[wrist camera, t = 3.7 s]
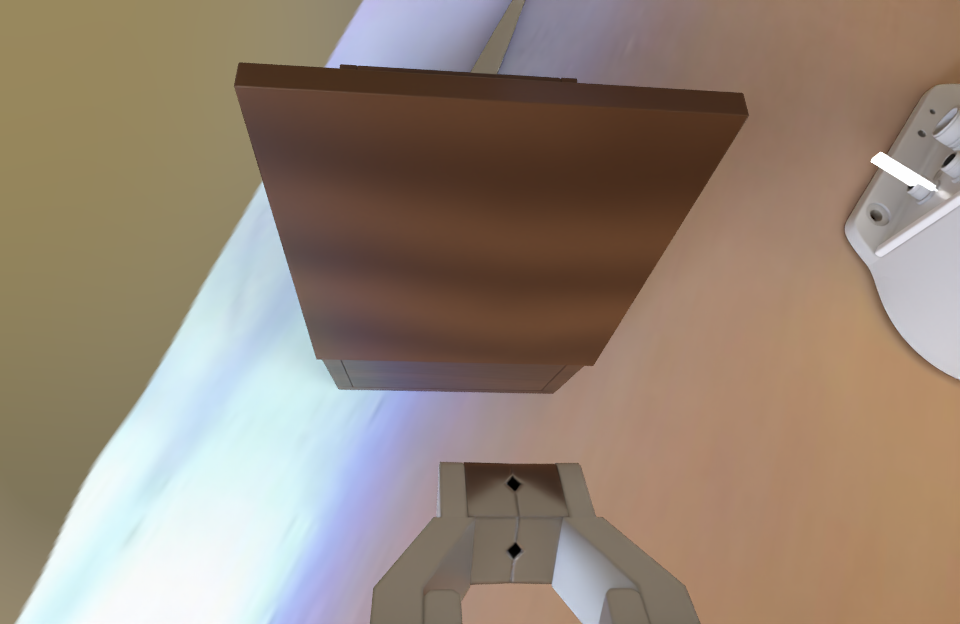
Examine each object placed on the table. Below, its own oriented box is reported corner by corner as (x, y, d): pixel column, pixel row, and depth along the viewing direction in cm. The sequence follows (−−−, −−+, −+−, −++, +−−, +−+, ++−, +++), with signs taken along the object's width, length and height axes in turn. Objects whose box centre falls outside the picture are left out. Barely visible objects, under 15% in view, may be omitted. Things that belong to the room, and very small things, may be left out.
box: (353, 150, 45) (339, 63, 36) (546, 160, 46) (577, 78, 37) (338, 389, 40) (318, 353, 32) (553, 393, 41) (590, 360, 33)
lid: (238, 61, 17) (232, 85, 16) (743, 91, 18) (749, 115, 17) (317, 343, 31) (316, 359, 31) (591, 350, 32) (593, 366, 32)
